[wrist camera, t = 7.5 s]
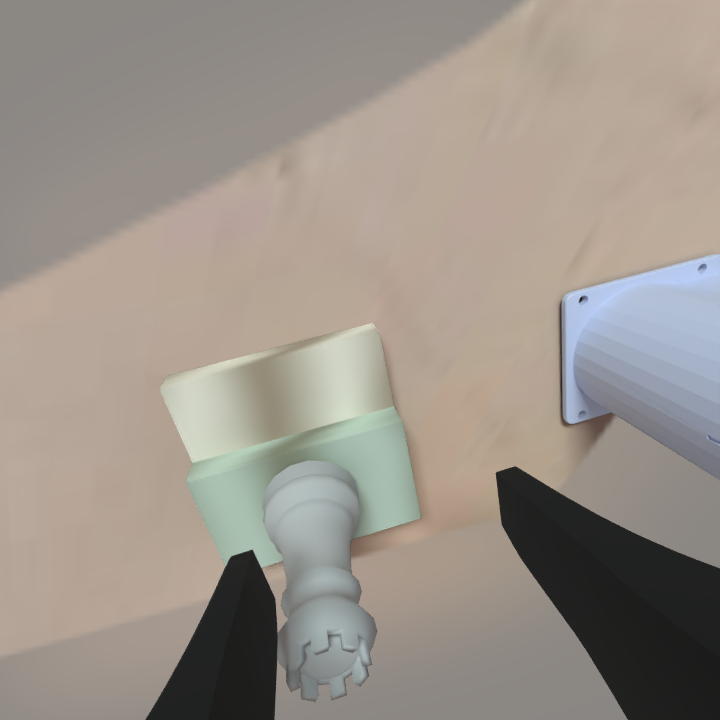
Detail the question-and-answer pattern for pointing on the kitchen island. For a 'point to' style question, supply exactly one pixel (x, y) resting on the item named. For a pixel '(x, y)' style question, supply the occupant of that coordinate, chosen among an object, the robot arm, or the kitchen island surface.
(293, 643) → the rook chess piece
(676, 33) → the kitchen island surface
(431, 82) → the kitchen island surface
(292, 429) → the stepped riser
